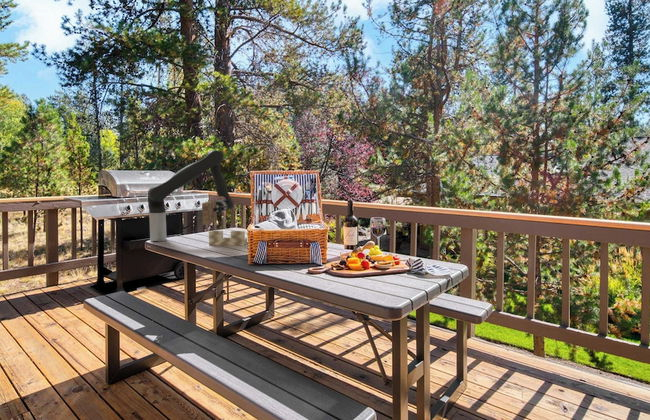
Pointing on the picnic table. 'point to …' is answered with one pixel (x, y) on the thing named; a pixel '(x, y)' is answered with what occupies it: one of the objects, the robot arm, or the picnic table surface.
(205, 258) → the picnic table surface
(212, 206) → the brown wooden slab
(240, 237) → the birch board
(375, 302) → the picnic table surface
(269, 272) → the picnic table surface
